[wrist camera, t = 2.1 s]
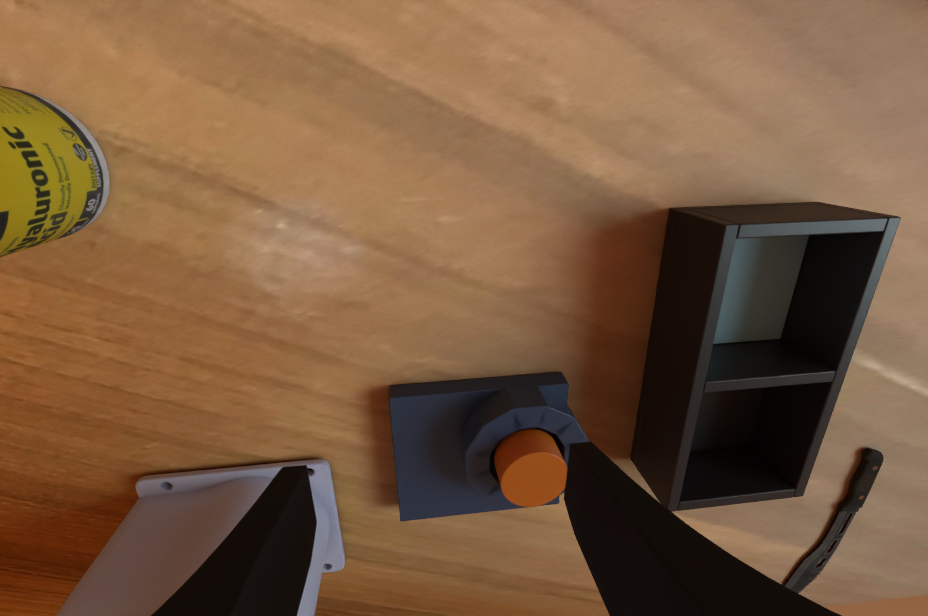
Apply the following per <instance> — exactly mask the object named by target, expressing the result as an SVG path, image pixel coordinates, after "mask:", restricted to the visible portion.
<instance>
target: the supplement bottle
mask: <svg viewBox="0 0 928 616" xmlns="http://www.w3.org/2000/svg"><path fill="white" fill-rule="evenodd" d="M109 186H110V182H109V171H108V167H107V163H106V161H105V158H104V155H103V153H102V151H101V149H100V147H99V145H98V144H97V142H96V140H95V139H94V137H93V136H92V135H91V133H90V132H89V131H88V130H87V129H86V128H85V126H84V125H83V124H82V123H81V122H80V121H79V120H77V119H76V118H75V117H74V116H73V115H71V114H70V113H69V112H68V111H66V110H65V109H63V108H62V107H60V106H58V105H57V104H55V103H53V102H52V101H50V100H48V99H46V98H44V97H41V96H39V95H36V94H33V93H30V92H27V91H23V90H19V89H13V88H8V87H2V86H0V257H3V256H6V255H9V254H12V253H15V252H19V251H22V250H25V249H28V248H31V247H34V246H37V245H40V244H43V243H46V242H50V241H53V240H56V239H59V238H62V237H65V236H68V235H70V234H73V233H75V232H77V231H79V230H81V229H84V228H85V227H87V226H88V225H89V224H91V223H92V222H93V221H94V220H95V219H96V218H97V217H98V216H99V215H100V213H101V212H102V210H103V208H104V207H105V204H106V202H107V198H108V195H109Z"/></svg>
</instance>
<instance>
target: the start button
mask: <svg viewBox="0 0 928 616" xmlns="http://www.w3.org/2000/svg"><path fill="white" fill-rule="evenodd" d="M494 464H495V468H496V472H497V475H498V479H499V483H500V487H501V490H502V493H503V494H504V496H505V497H506V498H507V499H508V500H509V501H510V502H512V503H513V504H516V505H519V506H523V507H535V506H540V505H543V504H546V503H548V502H550V501H552V500H553V499H555V498H556V497H557V496H558V495H559V494H560V493H561V492H562V491H563V490H564V488H565V485H566V476H567V465H566V463H565V461H564V459H563V457H562V455H561V453H560V451H559V449H558V447H557V445H556V443H555V441H554V439H553V438H552V437H551V436H550V435H549V434H547V433H546V432H544V431H541V430H538V429H522V430H518V431H516V432H513V433H511V434H510V435H508V436H507V437H505V438H504V439H503V440H502V441H501V442H500V444H499V445H498V447H497V448H496V451H495V454H494Z"/></svg>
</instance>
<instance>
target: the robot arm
mask: <svg viewBox="0 0 928 616" xmlns="http://www.w3.org/2000/svg"><path fill="white" fill-rule="evenodd" d="M307 468H311V469H313V471H308V469H307ZM166 482H168V483H170V484H167V483H166ZM135 489H136V492H137V494H138V497H139V499H138V500H137V502H136V503H135V504H134V506H133V507H132V509H131V510H130V511H129V513H128V514H127V516H126V517H125V518H124V520H123V521H122V523H121V524H120V525H119V527H118V528H117V529H116V531H115V532H114V534H113V535H112V536H111V538H110V539H109V541H108V542H107V543H106V545H105V546H104V548H103V549H102V550H101V552H100V553H99V555H98V556H97V557H96V559H95V560H94V562H93V563H92V564H91V566H90V567H89V569H88V570H87V571H86V573H85V574H84V576H83V577H82V578H81V580H80V581H79V582H78V584H77V585H76V587H75V588H74V589H73V591H72V592H71V594H70V595H69V596H68V598H67V599H66V601H65V602H64V604H63V605H62V607H61V609H60V610H59V612H58V614H57V615H56V616H314V614H315V609H316V603H317V598H318V592H319V587H320V582H321V576H322V573H327V572H335V571H340V570H341V569H343V568H344V565H345V555H344V549H343V543H342V537H341V531H340V525H339V519H338V513H337V507H336V501H335V494H334V488H333V482H332V476H331V470H330V465H329V463H328V462H327V461H326V460H323V459H315V460H304V461H294V462H283V463H273V464H262V465H252V466H241V467H231V468H220V469H210V470H199V471H189V472H178V473H168V474H157V475H147V476H143V477H141V478H140V479H139V480H138V481H137V483H136V485H135ZM564 500H565V504H566V507H567V511H568V514H569V518H570V521H571V524H572V527H573V530H574V534H575V536H576V539H577V541H578V544H579V546H580V548H581V551H582V553H583V555H584V558H585V560H586V562H587V564H588V567H589V569H590V571H591V574H592V576H593V578H594V581H595V583H596V585H597V587H598V590H599V592H600V594H601V597H602V599H603V601H604V603H605V606H606V608H607V610H608V613H609V615H610V616H841V615H839V614H837V613H835V612H832V611H830V610H828V609H826V608H824V607H822V606H821V605H819V604H817V603H815V602H813V601H811V600H809V599H807V598H805V597H803V596H801V595H799V594H798V593H796V592H794V591H792V590H790V589H788V588H786V587H785V586H783V585H781V584H779V583H777V582H776V581H774V580H772V579H770V578H769V577H767V576H765V575H764V574H762V573H760V572H759V571H757V570H755V569H754V568H752V567H750V566H749V565H747V564H745V563H744V562H742V561H740V560H739V559H737V558H735V557H734V556H732V555H731V554H729V553H728V552H726V551H725V550H723V549H722V548H720V547H719V546H717V545H716V544H714V543H713V542H711V541H710V540H708V539H707V538H706V537H704V536H703V535H701V534H700V533H698V532H697V531H695V530H694V529H693V528H691V527H690V526H689V525H687V524H686V523H685V522H683V521H682V520H681V519H679V518H678V517H677V516H676V515H674V514H673V513H672V512H670V511H669V510H668V509H667V508H665V507H664V506H663V505H662V504H660V503H659V502H658V501H657V500H656V499H654V498H653V497H652V496H651V495H650V494H648V493H647V492H646V491H645V490H644V489H643V488H641V487H640V486H639V485H638V484H637V483H636V482H634V481H633V480H632V479H631V478H630V477H629V476H628V475H627V474H626V473H624V472H623V471H622V470H621V469H620V468H619V467H618V466H617V465H616V464H615V463H613V462H612V461H611V460H610V459H609V458H608V457H607V456H606V455H605V454H604V453H603V452H602V451H600V450H599V449H598V448H597V447H596V446H595V445H594V444H593V443H592V442H583V443H570V448H569V457H568V467H567V476H566V485H565V494H564Z"/></svg>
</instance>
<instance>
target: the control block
mask: <svg viewBox="0 0 928 616" xmlns="http://www.w3.org/2000/svg"><path fill="white" fill-rule="evenodd" d="M568 385H569V383H568V382H567V380H566V379H565V377H564V376H563V374H562V372H553V373H541V374H528V375H516V376H503V377H491V378H478V379H465V380H453V381H440V382H428V383H415V384H403V385H391V386H390V389H389V405H390V415H391V426H392V436H393V447H394V458H395V468H396V479H397V489H398V500H399V510H400V520H401V521H408V520H417V519H426V518H435V517H444V516H452V515H461V514H470V513H479V512H488V511H497V510H506V509H515V508H524V507H523V506H519V505H516V504H513V503H512V502H510V501H509V500H508V499H507V498H506V497H505V496H504V494H503V493H502V490H501V487H500V483H499V479H498V475H497V472H496V468H495V464H494V454H495V451H496V448H497V447H498V445H499V444H500V442H501V441H502V440H503V439H504V438H505V437H507V436H508V435H510V434H511V433H513V432H516V431H518V430H522V429H538V430H541V431H544V432H546V433H547V434H549V435H550V436H551V437H552V438H553V439H554V441H555V443H556V445H557V447H558V449H559V451H560V453H561V455H562V457H563V459H564V461H565V463H566V465H567V467H568V457H569V448H570V443H583V442H589V440H588V438H587V436H586V434H585V433H584V431H583V429H582V428H581V426H580V424H579V422H578V421H577V419H576V417H575V416H574V414H573V412H572V411H571V409H570V408H569V406H568V404H567V397H568ZM564 492H565V488H564V490H563V491H562V492H561V493H560V494H562V493H564ZM560 494H559V495H560ZM559 495H558V496H557V497H556V498H555V499H553V500H552V501H550V502H548V503H546V504H543V505H551V504H558V503H559ZM540 506H542V505H540Z"/></svg>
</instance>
